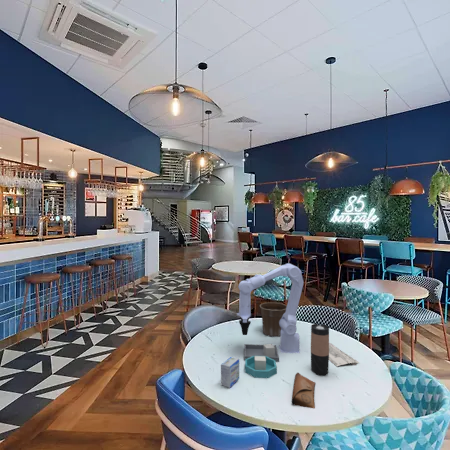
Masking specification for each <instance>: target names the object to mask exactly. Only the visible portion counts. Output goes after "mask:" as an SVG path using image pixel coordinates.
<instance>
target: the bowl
mask: <svg viewBox="0 0 450 450" xmlns="http://www.w3.org/2000/svg"><path fill="white" fill-rule="evenodd" d="M265 358H266V370H255V356H252V357H250V358H247V359H245V358H244V362H245V364H244V369H245V371H244V372H245V373H246V374H248V375H249V376H251V377H253V378H256V379H257V378H258V379H270V378H271V377H274V376H275V375H277V373H278V372H277V371H278V367H277V362H276V361H275V360H273V359H271V358H269V357H267V356H265Z"/></svg>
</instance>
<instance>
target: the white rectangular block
mask: <svg viewBox="0 0 450 450" xmlns="http://www.w3.org/2000/svg"><path fill="white" fill-rule="evenodd" d="M255 370H266V358H265V356H255Z"/></svg>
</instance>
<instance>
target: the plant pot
mask: <svg viewBox="0 0 450 450" xmlns="http://www.w3.org/2000/svg"><path fill="white" fill-rule="evenodd" d="M259 308H260V313H261V322H262V333H263V335H266V336H267V337H271V338H273V337H274V338H275V337H276V338H278V337H280V336H281V327H280V325H279V321H280V319H281V318H282V316H283V314H284V313H285V312H286V308H287V305H286V304H284V303H281V302H263V303H261V304H259Z"/></svg>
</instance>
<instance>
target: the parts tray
mask: <svg viewBox="0 0 450 450" xmlns="http://www.w3.org/2000/svg"><path fill="white" fill-rule="evenodd" d="M264 345H265V344H249V343H248V344H247V343H246V344H244V360H245V359H247V358H250V357H252V356H265V355H264ZM272 345H273V346H274V347H275V356H274V357H269V358H271V359H273V360H275V361H276V363H280V355H279V351H278V346H277V345H274V344H272Z"/></svg>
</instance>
